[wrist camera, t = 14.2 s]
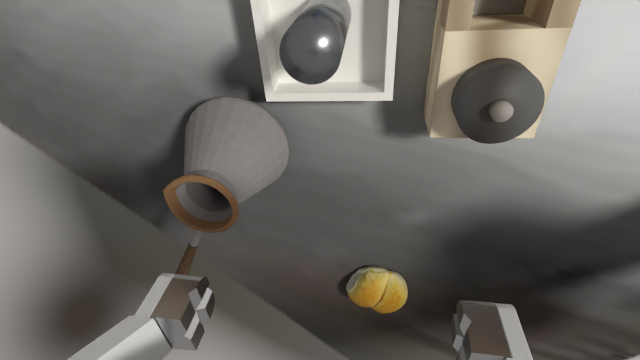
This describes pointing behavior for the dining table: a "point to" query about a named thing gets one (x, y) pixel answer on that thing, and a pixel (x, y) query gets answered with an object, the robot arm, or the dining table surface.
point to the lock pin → (316, 41)
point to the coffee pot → (224, 165)
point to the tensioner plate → (490, 42)
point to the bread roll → (377, 289)
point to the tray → (357, 58)
